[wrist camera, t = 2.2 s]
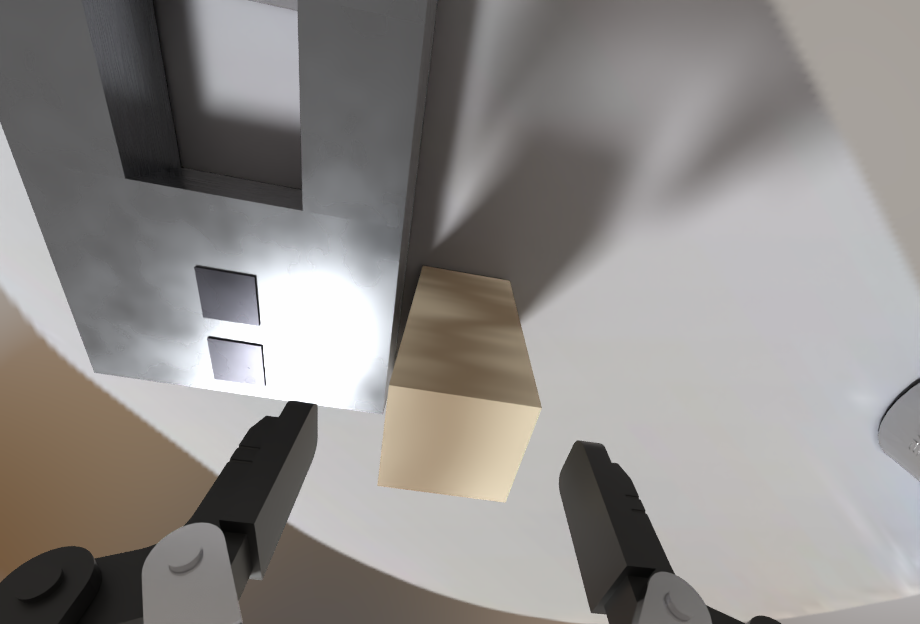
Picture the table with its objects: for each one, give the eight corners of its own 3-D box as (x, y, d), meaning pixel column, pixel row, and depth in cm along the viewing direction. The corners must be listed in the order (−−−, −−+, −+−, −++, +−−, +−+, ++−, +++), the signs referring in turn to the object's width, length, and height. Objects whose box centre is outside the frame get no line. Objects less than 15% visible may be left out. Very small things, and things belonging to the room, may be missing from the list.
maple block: (509, 280, 18) (541, 408, 11) (490, 351, 21) (505, 502, 13) (422, 265, 18) (388, 385, 10) (412, 339, 20) (377, 485, 12)
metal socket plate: (449, -101, 12) (444, -163, 9) (393, 377, 21) (382, 415, 19) (-14, -216, 11) (-172, -323, 8) (142, 338, 20) (92, 373, 18)
